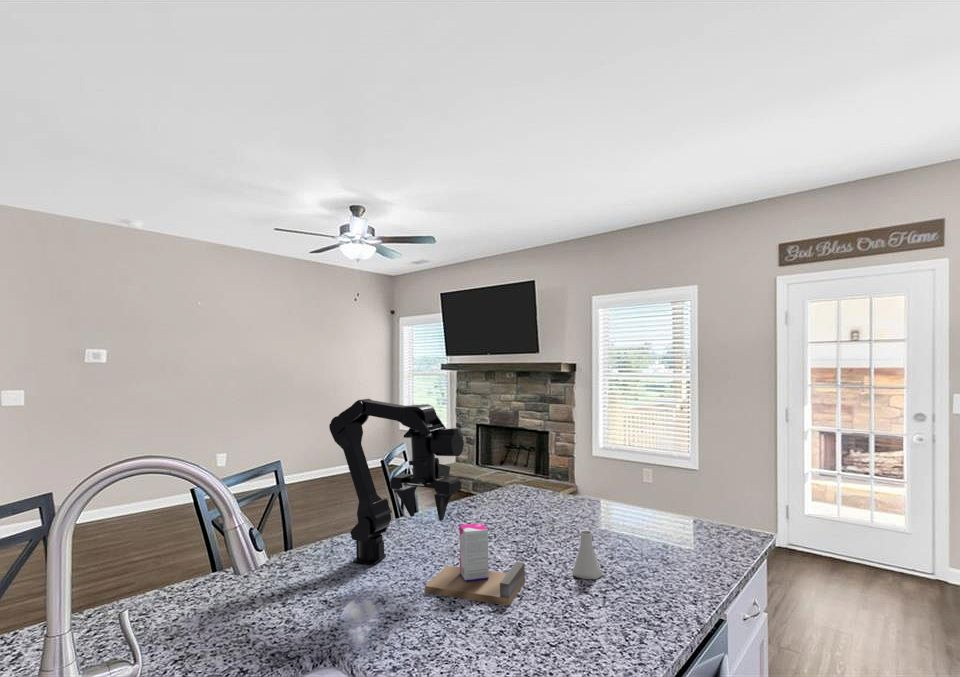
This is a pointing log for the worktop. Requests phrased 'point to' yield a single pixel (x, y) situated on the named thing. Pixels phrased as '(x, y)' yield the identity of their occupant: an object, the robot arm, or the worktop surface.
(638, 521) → the worktop surface
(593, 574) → the flask
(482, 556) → the supplement box
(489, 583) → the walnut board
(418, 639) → the worktop surface
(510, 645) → the worktop surface
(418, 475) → the robot arm
